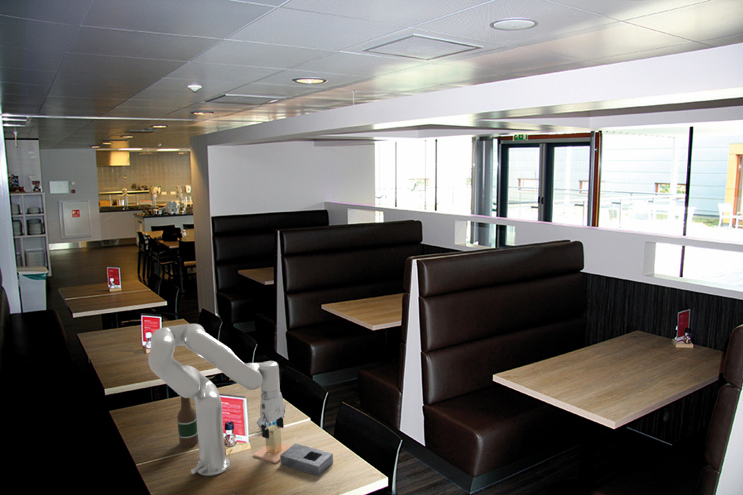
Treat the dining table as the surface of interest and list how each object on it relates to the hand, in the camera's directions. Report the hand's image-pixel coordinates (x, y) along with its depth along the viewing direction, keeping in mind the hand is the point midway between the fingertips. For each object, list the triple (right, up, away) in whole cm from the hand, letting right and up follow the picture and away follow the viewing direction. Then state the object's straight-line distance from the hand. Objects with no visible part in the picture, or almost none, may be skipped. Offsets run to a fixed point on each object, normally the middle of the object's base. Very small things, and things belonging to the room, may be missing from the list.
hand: (273, 432), depth 219 cm
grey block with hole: (+15, -10, -8) cm, 19 cm away
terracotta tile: (0, -9, +1) cm, 9 cm away
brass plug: (0, -8, +1) cm, 8 cm away
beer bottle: (-38, -9, +11) cm, 40 cm away
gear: (-5, -6, +26) cm, 27 cm away
